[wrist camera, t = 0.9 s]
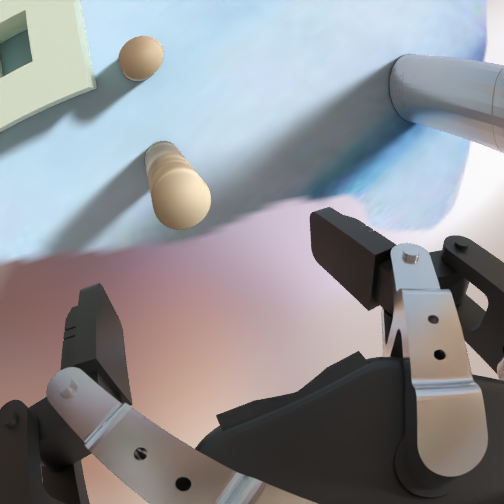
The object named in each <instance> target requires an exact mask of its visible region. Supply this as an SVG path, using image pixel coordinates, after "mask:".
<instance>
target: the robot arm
mask: <svg viewBox="0 0 504 504" xmlns="http://www.w3.org/2000/svg"><path fill="white" fill-rule="evenodd" d="M389 89H390V96H391V99H392V103H393V105H394V107H395V109H396V111H397V112H398V114H399V115H400V116H401V117H402V118H403V119H405V120H407V121H409V122H413V123H416V124H420V125H424V126H427V127H431V128H434V129H437V130H440V131H444V132H447V133H450V134H453V135H456V136H459V137H462V138H465V139H468V140H471V141H474V142H476V143H479V144H482V145H485V146H488V147H490V148H492V149H495V150H498V151H500V152H503V153H504V66H503V65H498V64H493V63H487V62H481V61H475V60H468V59H460V58H452V57H442V56H432V55H416V54H407V55H404V56H402V57H400V58H399V59H398V60H397V61H396V63H395V64H394V66H393V68H392V71H391V75H390V86H389ZM310 231H311V248H312V253H313V256H314V258H315V260H316V261H317V262H318V263H319V264H320V265H321V266H322V267H323V268H324V269H325V270H326V271H327V272H328V273H329V274H331V276H333V277H334V278H335V279H336V280H337V281H338V282H339V283H340V284H341V285H342V286H343V287H344V288H345V289H346V290H347V291H348V292H350V293H351V294H352V295H353V296H354V297H355V298H356V299H357V300H358V301H359V302H360V303H361V304H362V305H363V306H364V307H365V308H366V309H367V310H368V311H369V310H371V309H373V308H375V307H377V306H379V305H381V306H382V307H383V308H382V338H383V357H376V358H370V359H365V358H364V357H363V356H362V354H361V353H360V352H359V351H358V352H356V353H354V354H352V355H350V356H348V357H347V358H345V359H343V360H341V361H339V362H337V363H335V364H333V365H331V366H329V367H327V368H326V369H325V370H324V371H323V372H321V373H320V374H319V375H318V376H317V377H315V378H314V379H313V380H312V381H311V382H309V383H308V384H307V385H305V386H304V387H303V388H302V389H300V390H299V391H298V392H295V393H291V394H287V395H282V396H277V397H272V398H266V399H261V400H256V401H252V402H250V403H247V404H245V405H242V406H239V407H237V408H234V409H232V410H229V411H227V412H224V413H221V414H218V415H216V416H217V419H218V421H219V424H220V426H219V427H217V428H216V429H214V430H213V431H212V432H210V433H209V434H208V435H207V436H206V437H205V438H204V439H203V440H202V441H201V442H200V443H199V444H198V446H197V447H196V448H195V449H194V448H192V447H191V446H188V445H187V444H186V443H184V442H182V441H181V440H179V439H178V438H176V437H174V436H173V435H171V434H170V433H168V432H167V431H165V430H163V429H162V428H161V427H159V426H158V425H156V424H155V423H153V422H152V421H150V420H149V419H147V418H146V417H145V416H143V415H142V414H141V413H139V412H138V411H136V410H135V409H134V408H132V407H131V406H130V405H132V399H131V392H130V387H129V379H128V372H127V364H126V356H125V347H124V337H123V329H122V325H121V323H120V320H119V317H118V315H117V314H116V312H115V310H114V308H113V306H112V304H111V302H110V300H109V298H108V296H107V294H106V293H105V290H104V289H103V287H102V285H101V284H100V283H98V284H95V285H92V286H89V287H87V288H84V289H81V290H80V295H79V303H78V306H75V307H73V308H72V309H71V311H70V313H69V314H68V316H67V318H66V323H65V332H64V341H63V349H62V361H61V371H59V372H58V373H57V374H55V375H54V377H53V378H52V379H51V380H50V382H49V385H48V387H47V397H45V398H44V399H42V400H41V401H39V402H37V403H36V404H34V405H33V406H31V407H29V408H28V407H27V406H26V405H25V404H24V403H23V402H21V401H19V400H12V401H9V402H8V403H6V404H5V405H4V406H3V407H2V408H1V409H0V504H90V503H89V499H88V495H87V490H86V485H85V480H84V475H83V470H82V464H81V459H82V458H84V457H86V456H88V455H89V454H91V453H92V454H93V455H94V456H95V457H96V458H97V459H98V460H99V461H100V462H102V463H103V464H104V465H105V466H106V467H107V468H108V469H109V470H110V471H111V472H112V473H114V475H116V476H117V477H118V478H119V479H120V480H121V481H122V482H124V483H125V484H126V485H127V486H128V487H129V488H131V489H132V490H133V491H134V492H135V493H137V494H138V495H139V496H140V497H142V498H143V499H144V500H146V501H147V502H148V503H150V504H504V263H503V262H502V261H500V260H499V259H498V258H496V257H495V256H493V255H492V254H490V253H489V252H488V251H486V250H485V249H483V248H482V247H480V246H479V245H477V244H476V243H475V242H473V241H472V240H470V239H468V238H465V237H462V236H449V237H447V238H446V239H445V240H444V244H443V249H442V250H441V251H435V252H430V253H428V251H426V250H425V249H424V248H422V247H421V246H418V245H415V244H410V243H406V244H405V243H404V244H399V245H396V244H394V243H393V242H391V241H390V240H388V239H387V238H385V237H383V236H382V235H381V234H379V233H378V232H376V231H373V229H371V228H370V227H368V226H366V225H365V224H364V223H362V222H361V221H359V220H357V219H355V218H352V217H348V216H345V215H344V216H343V215H342V214H340V213H339V212H337V211H335V210H334V209H332V208H330V207H328V208H324V209H321V210H318V211H315V212H312V213H311V215H310ZM469 281H470V282H471V283H472V284H473V285H475V286H476V287H477V288H478V289H480V290H481V291H482V292H483V293H484V294H485V295H486V296H487V298H488V302H489V303H488V308H487V311H484V310H483V309H482V308H481V307H480V306H479V305H478V304H476V303H475V302H474V301H473V300H472V299H471V298H469V297H468V296H467V295H466V290H467V288H468V284H469ZM465 341H466V342H467V343H468V344H469V345H470V346H471V347H472V348H473V349H474V350H475V351H476V352H477V353H478V354H479V355H480V356H481V357H482V358H483V359H484V360H485V362H486V363H487V364H488V365H489V366H490V367H491V368H492V369H493V370H494V371H495V372H496V373H497V375H498V377H499V380H497V379H492V378H487V377H482V376H477V375H472V372H471V367H470V363H469V358H468V353H467V349H466V345H465ZM41 469H42V473H41ZM42 479H43V482H42Z"/></svg>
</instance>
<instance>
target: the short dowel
mask: <svg viewBox="0 0 504 504" xmlns="http://www.w3.org/2000/svg"><path fill="white" fill-rule="evenodd" d="M163 58H164V51H163V48H162V46H161V44H160V43H159V42H158V41H157V40H156V39H154V38H152V37H148V36H139V37H135V38H133V39H131V40H129V41H128V42H127V43H126V44H125V45H124V46H123V47H122V49H121V51H120V54H119V65H120V67H121V69H122V71H123V73H124V75H125V76H126V77H127V78H128V79H130V80H133V81H143V80H146V79H148V78H150V77H151V76H152V75H153V74H154V73H155V72H156V71H157V70H158V68H159V67H160V66H161V64H162V62H163Z"/></svg>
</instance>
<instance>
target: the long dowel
mask: <svg viewBox="0 0 504 504" xmlns="http://www.w3.org/2000/svg"><path fill="white" fill-rule="evenodd" d="M145 165H146V171H147V177H148V182H149V188H150V193H151V198H152V203H153V208H154V212H155V214H156V216H157V218H158V219H159V221H160V222H161V223H163V224H164V225H165V226H167V227H170V228H173V229H187V228H191V227H193V226H195V225H197V224H198V223H200V222H201V221H202V220H203V219H204V218H205V216H206V215H207V213H208V211H209V208H210V205H211V195H210V191H209V189H208V187H207V185H206V184H205V182H204V181H203V180H202V179H201V177H200V176H199V175H198V174H197V172H196V171H195V170H194V169H193V167H192V166H191V165H190V164H189V162H188V161H187V160H186V159H185V157H184V156H183V155H182V154H181V152H180V151H179V150H178V148H177V147H176V146H175V145H174V144H172V143H170V142H167V141H159V142H156V143H154V144H153V145H151V146H150V147H149V148H148V150H147V152H146V154H145Z"/></svg>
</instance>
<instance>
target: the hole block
mask: <svg viewBox="0 0 504 504" xmlns="http://www.w3.org/2000/svg"><path fill="white" fill-rule="evenodd" d="M27 29H28V35H29V42H30V48H31V54H32V60H33V61H32V62H30V63H28V64H26V65H24V66H22V67H20V68H18V69H16V70H15V71H13V72H11V73H9V74H7V75H5V76H4V77H3V72H2V66H1V60H0V133H1V132H2V131H4V130H6V129H8V128H10V127H11V126H13V125H15V124H17V123H19V122H21V121H23V120H25V119H27V118H29V117H31V116H33V115H35V114H37V113H39V112H41V111H44V110H46V109H48V108H50V107H52V106H55V105H57V104H59V103H62V102H64V101H66V100H69V99H71V98H74V97H76V96H79V95H81V94H84V93H86V92H89V91H92V90H94V89H97V85H96V80H95V76H94V71H93V67H92V62H91V57H90V52H89V46H88V41H87V35H86V30H85V24H84V17H83V11H82V4H81V0H0V44H1V43H2V42H4V41H6V40H8V39H10V38H11V37H13V36H15V35H17V34H19V33H21V32H23V31H25V30H27Z"/></svg>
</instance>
